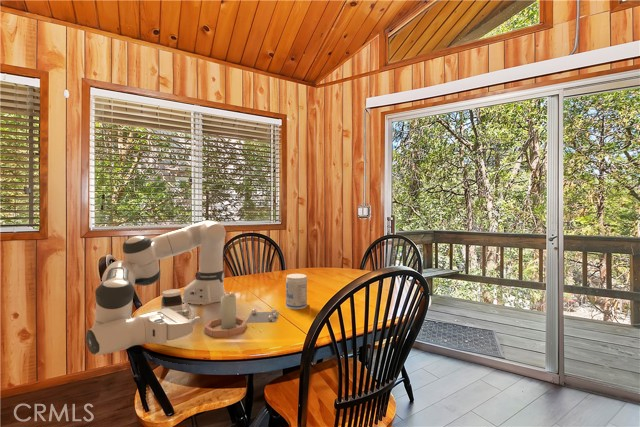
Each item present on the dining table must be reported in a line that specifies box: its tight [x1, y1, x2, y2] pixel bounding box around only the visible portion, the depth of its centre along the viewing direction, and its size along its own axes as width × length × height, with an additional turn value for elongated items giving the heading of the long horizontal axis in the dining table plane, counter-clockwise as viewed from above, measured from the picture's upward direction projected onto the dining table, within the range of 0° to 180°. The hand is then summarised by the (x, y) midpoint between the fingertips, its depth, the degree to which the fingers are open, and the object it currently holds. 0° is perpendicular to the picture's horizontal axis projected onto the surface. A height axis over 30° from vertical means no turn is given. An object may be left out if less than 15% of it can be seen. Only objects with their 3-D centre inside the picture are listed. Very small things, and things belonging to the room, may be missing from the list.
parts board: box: [246, 308, 280, 324], centre depth 131 cm, size 12×12×3 cm
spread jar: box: [160, 288, 193, 320], centre depth 131 cm, size 12×11×12 cm
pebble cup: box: [220, 291, 237, 330], centre depth 120 cm, size 6×6×14 cm
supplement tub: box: [285, 273, 308, 310], centre depth 146 cm, size 10×10×15 cm
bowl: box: [203, 316, 248, 338], centre depth 119 cm, size 14×14×3 cm
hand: (194, 315), depth 110 cm, fingers open, 8 cm apart
